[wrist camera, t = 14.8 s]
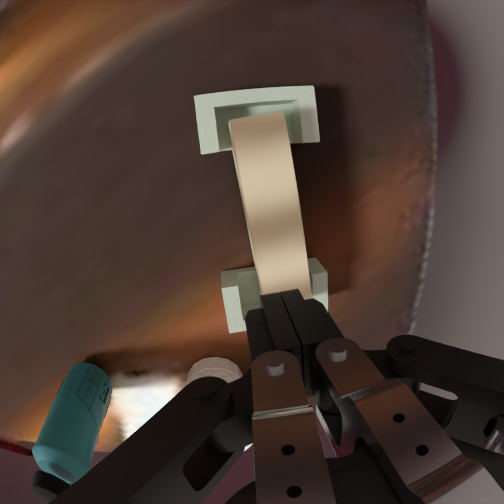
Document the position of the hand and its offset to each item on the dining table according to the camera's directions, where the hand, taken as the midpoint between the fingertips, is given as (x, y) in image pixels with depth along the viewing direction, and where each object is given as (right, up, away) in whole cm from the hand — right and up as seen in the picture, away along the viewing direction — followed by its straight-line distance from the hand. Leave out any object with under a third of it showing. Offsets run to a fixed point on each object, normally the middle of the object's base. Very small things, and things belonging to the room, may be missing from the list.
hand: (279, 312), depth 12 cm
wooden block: (0, +6, +18) cm, 19 cm away
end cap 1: (-1, +15, +16) cm, 21 cm away
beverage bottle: (-22, -13, +23) cm, 35 cm away
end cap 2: (+1, -1, +21) cm, 21 cm away
